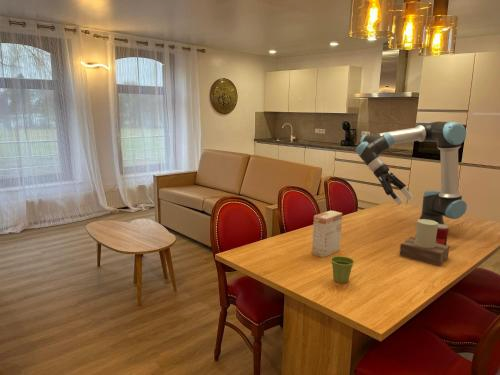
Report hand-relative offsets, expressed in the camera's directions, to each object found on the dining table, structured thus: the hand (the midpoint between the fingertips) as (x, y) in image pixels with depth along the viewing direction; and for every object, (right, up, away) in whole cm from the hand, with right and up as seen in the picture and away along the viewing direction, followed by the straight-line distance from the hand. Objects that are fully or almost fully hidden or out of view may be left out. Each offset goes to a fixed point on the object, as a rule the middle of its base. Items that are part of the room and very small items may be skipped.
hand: (406, 201), depth 184 cm
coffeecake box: (-40, -25, 0) cm, 47 cm away
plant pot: (-40, -32, -31) cm, 60 cm away
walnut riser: (+7, -27, -4) cm, 28 cm away
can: (+7, -21, -5) cm, 23 cm away
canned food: (+22, -24, +12) cm, 35 cm away
